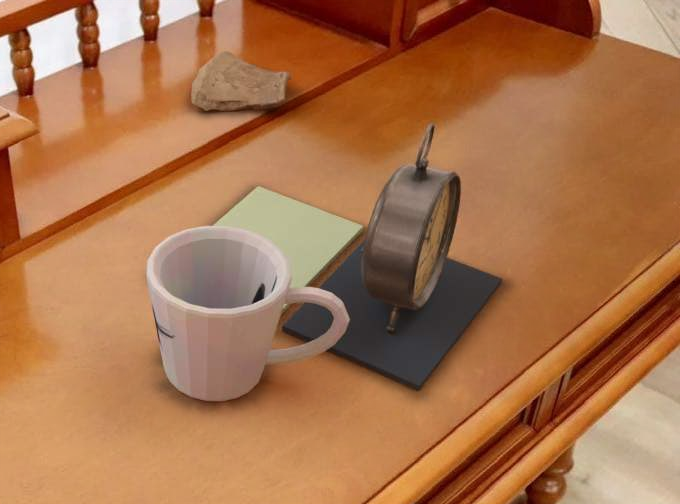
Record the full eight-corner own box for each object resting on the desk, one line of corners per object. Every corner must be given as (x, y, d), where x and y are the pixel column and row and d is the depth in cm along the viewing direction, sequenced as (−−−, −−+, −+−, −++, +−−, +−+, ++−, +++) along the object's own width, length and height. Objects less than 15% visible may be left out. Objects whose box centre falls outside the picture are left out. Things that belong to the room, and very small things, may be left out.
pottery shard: (189, 123, 114) (282, 116, 111) (181, 84, 112) (276, 75, 108) (215, 80, 122) (303, 72, 119) (208, 43, 120) (297, 33, 116)
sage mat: (362, 231, 98) (363, 225, 98) (270, 326, 89) (271, 320, 88) (257, 190, 103) (258, 185, 102) (159, 277, 93) (159, 271, 93)
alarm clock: (403, 348, 86) (441, 171, 75) (339, 326, 88) (366, 150, 77) (448, 273, 93) (488, 101, 82) (387, 253, 95) (419, 83, 84)
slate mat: (501, 284, 92) (502, 278, 92) (418, 391, 83) (419, 386, 82) (372, 234, 98) (373, 229, 97) (281, 331, 88) (282, 325, 88)
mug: (158, 317, 89) (159, 216, 83) (342, 340, 87) (359, 238, 80) (134, 406, 82) (133, 303, 75) (335, 433, 80) (352, 330, 73)
